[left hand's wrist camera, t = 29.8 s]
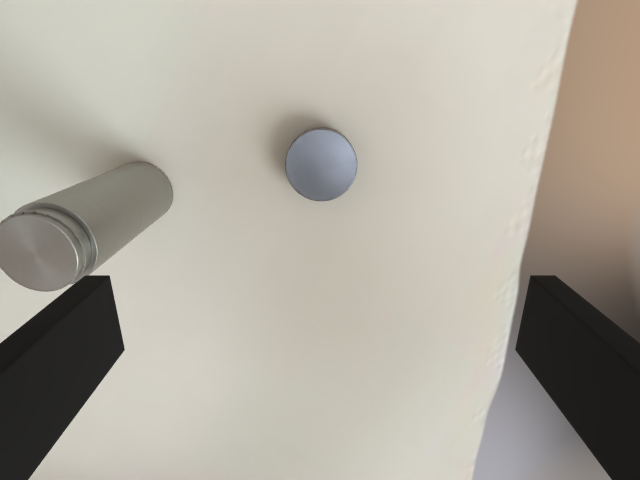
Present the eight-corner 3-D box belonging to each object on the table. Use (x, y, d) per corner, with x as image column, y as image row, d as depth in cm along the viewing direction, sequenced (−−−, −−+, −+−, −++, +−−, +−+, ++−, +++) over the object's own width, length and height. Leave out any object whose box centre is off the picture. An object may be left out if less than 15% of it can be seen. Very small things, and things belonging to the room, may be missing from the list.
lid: (330, 208, 39) (330, 214, 37) (274, 172, 38) (271, 176, 36) (369, 153, 37) (371, 156, 35) (311, 113, 36) (310, 114, 34)
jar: (158, 154, 37) (53, 197, 23) (182, 210, 39) (100, 283, 24) (103, 171, 38) (-34, 224, 23) (129, 225, 40) (18, 306, 25)
